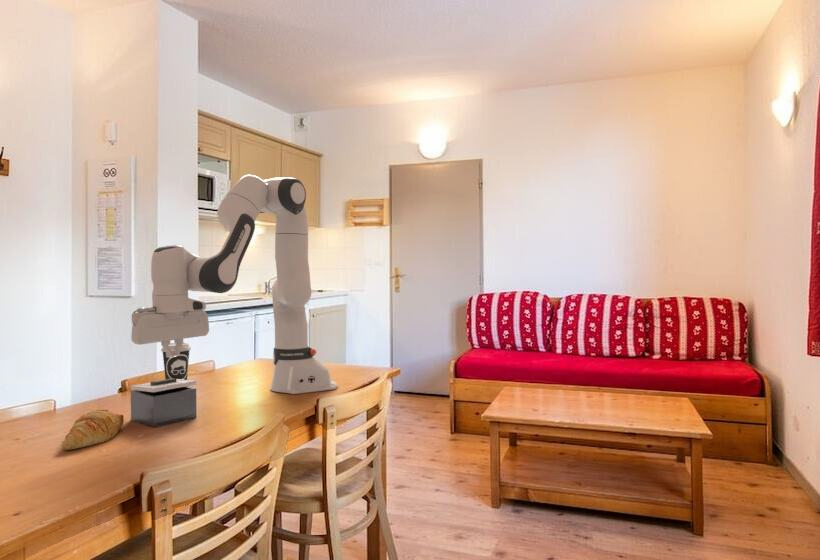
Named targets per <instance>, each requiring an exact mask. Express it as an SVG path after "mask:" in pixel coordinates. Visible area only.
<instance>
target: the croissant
mask: <svg viewBox="0 0 820 560" xmlns="http://www.w3.org/2000/svg"><path fill="white" fill-rule="evenodd" d="M124 421H125V420H124V415H123V414H118V413H113V412H111V411H109V410H108V409H97V410H93V411H91V412H87V413H85V414H83V415H81V416H80V417H79V418H77V419H76V420H75V421H74V423H73V425H72V427H71V428H70V430H69V432H68V433H67V434H66V435H65V438H64V440H62V441H61V443H62V444H61V449H63V450H65V451H70V450H77V449H81V448H85V447H89V446H94V445H96V444H97V443H98V444H100V443H104V442H108V441H109V440H110V439H112V438H114V437H115V436H116V435H117V434H118V433H119V430H120V429H121V428H122V426H123V424H124Z"/></svg>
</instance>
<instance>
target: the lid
mask: <svg viewBox="0 0 820 560" xmlns="http://www.w3.org/2000/svg"><path fill="white" fill-rule="evenodd" d="M195 385H197V380H193V379H192V380H191V379H187V380H182V379H173V378H171V379H159V380H154V381H150V382H145V383H140V384H134V385H130V391H131V390H139V391H146V392H158V391H164V390H169V389H174V388H180V387H185V386H188V387H191V386H195Z"/></svg>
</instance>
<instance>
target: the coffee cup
mask: <svg viewBox="0 0 820 560" xmlns="http://www.w3.org/2000/svg"><path fill="white" fill-rule="evenodd" d="M175 345H176V343H174V342H170V345H169V347H170V349H171V350H174V348H175ZM191 350H192V349H191V346H190V345H189V342H183V345H182V347H181V348H180V356H176V357H171V358H167V357H166V351H165V350H164V348H163V347H161V350H160V352H162V358H163V359H162V361H163V368H164V369H163V370H164V376H165V377H164V378H165V379H171V378H173V379H182V380H188V371H189V370H188V369H189V358H190V351H191ZM165 379H164V380H165Z"/></svg>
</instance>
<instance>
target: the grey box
mask: <svg viewBox="0 0 820 560" xmlns="http://www.w3.org/2000/svg"><path fill="white" fill-rule="evenodd" d="M196 418H197V388H195V387H192V386H185V387H180V388H174V389H169V390H164V391H158V392H146V391H139V390H131V389H130V420H131V421H132V420H133V422H135V421H136V423H138V422H139V424H141V423H142V424H141V425H144V424H145V426H147V425H148V427H151V428H158V426H159V427H161V426H162V427H163V426H167V425H171V424H176V423H178V422H179V423H180V422H182V421H187V420H191V419H196Z"/></svg>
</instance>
